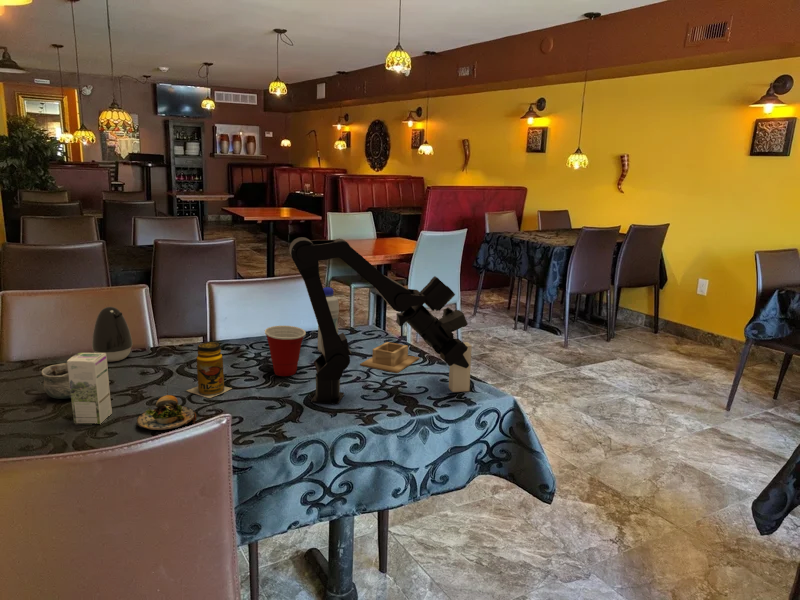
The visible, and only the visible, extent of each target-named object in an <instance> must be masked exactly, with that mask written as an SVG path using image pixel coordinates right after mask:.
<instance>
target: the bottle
mask: <svg viewBox="0 0 800 600" xmlns="http://www.w3.org/2000/svg"><path fill="white" fill-rule="evenodd" d="M323 289H324V293H325V296H326V299H327V302H328V306H329V309H330V312H331V315H332V318H333V322H334V325H335V328H336V331H337V333H338V334H339V314H340V312H339V311H340V304H339V298H338V297H337V296H334V288H332V287H329V286H327V287H323ZM317 327H318V328H317V333H318V334H317V350H318V352H319V353H320V354H322V353H323V352H322V344H321V333H320V329H319V326H318V325H317Z"/></svg>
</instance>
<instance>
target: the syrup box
mask: <svg viewBox="0 0 800 600" xmlns="http://www.w3.org/2000/svg"><path fill="white" fill-rule="evenodd" d="M66 363H67V366H68V375H69V383H70V393H71V398H70V399H71V408H72V409H71V410H72V415H73V416H72V417H73V424H74V423H95V424H96V423H97V424H100V425H102V424H103V423H104V422H105V421H106V420H107V419H106V418H107V417H108V416H110V415H111V414H112V415H113V409H112V401H111V391H110V382H109V368H108V362H107V357H106V353H95V352H78V353H76V354H74V355H73V356H71V357H70V358H68V360H66ZM112 415H111V416H112ZM111 416H110V417H111ZM105 419H106V420H105ZM104 420H105V421H104ZM103 421H104V422H103ZM102 422H103V423H102ZM101 423H102V424H101Z"/></svg>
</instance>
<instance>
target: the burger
mask: <svg viewBox="0 0 800 600" xmlns="http://www.w3.org/2000/svg"><path fill="white" fill-rule="evenodd" d="M166 387H167V391H166V395H163V396H161V397H160V398H158V400H157V401H156V403H155V408H152V409H151V408H150V407H148V409H146V410H145V411H144V412H143V413H141V414H140V415H139V416H138V417H137V418H136V427H137V428H138V427H139V428H144V429H148V430H154V431H155V430H158V431H163V430H171V429H176V428H178V427H181V426H183V425H187V424H188V423H190V422H191V421H192V422H191V424H192V423H194V424H195V423H196V421H197V414H196V411H195V410H194V409H193V408H192V407H191V408H190V407H188V406H183V405H181V404H179V402H178V401H179V400H178V398H177V397H176V396H175V395H170V394H168V390H169V388H168V387H169V386H166Z"/></svg>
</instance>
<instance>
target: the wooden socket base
mask: <svg viewBox="0 0 800 600" xmlns="http://www.w3.org/2000/svg"><path fill="white" fill-rule="evenodd" d="M419 360H420V356H419V357H418V356H412V355H409V345H406V344H402V343H395V342H389V341H385V342H384V343H383V344H380V345H378V346H376V347H374V348H372V357H370V358H368V359H366V360H365V361H362V362H360V363H359V366H361V367H366V368H370V369H374V370H375V369H376V370H381V371H385V372H389V373H390V372H391V373H395V374H399V373H400V372H401V371H403V370H405V369H406V368H408V367H409V366H411V365H413V364H414V363H416V362H418V361H419Z"/></svg>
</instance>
